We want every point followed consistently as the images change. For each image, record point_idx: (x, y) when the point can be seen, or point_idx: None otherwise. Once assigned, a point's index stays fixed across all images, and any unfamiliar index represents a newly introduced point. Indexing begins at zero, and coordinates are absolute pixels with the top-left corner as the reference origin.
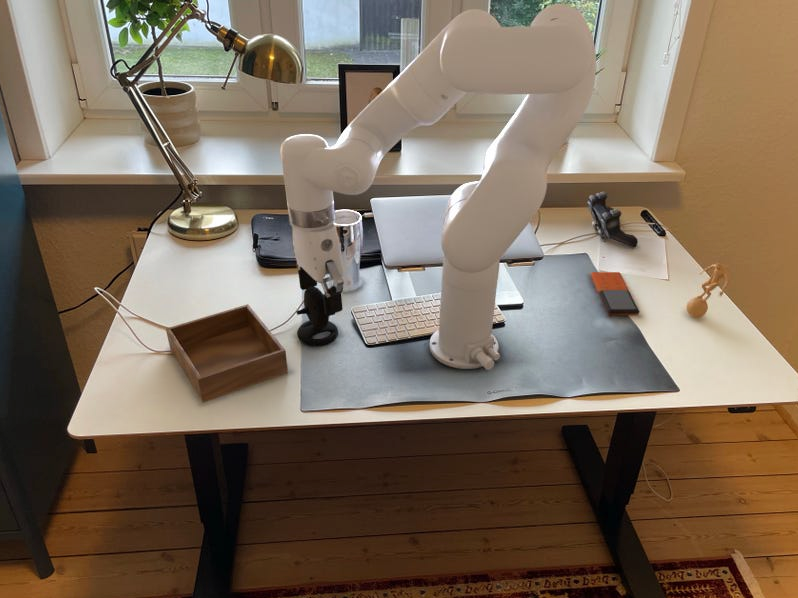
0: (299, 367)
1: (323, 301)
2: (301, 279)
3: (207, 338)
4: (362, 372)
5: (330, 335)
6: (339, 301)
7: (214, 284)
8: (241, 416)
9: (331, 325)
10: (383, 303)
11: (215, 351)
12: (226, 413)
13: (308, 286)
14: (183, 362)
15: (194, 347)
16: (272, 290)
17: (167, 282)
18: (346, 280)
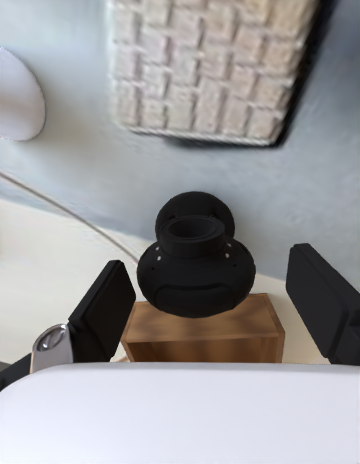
0: (263, 277)
1: (242, 288)
2: (123, 329)
3: (152, 348)
4: (350, 189)
5: (224, 217)
6: (355, 289)
7: (21, 313)
8: (311, 350)
9: (194, 206)
10: (113, 11)
11: (180, 346)
12: (295, 358)
13: (129, 287)
14: None
15: (164, 358)
16: (37, 254)
17: (18, 348)
18: (14, 105)
